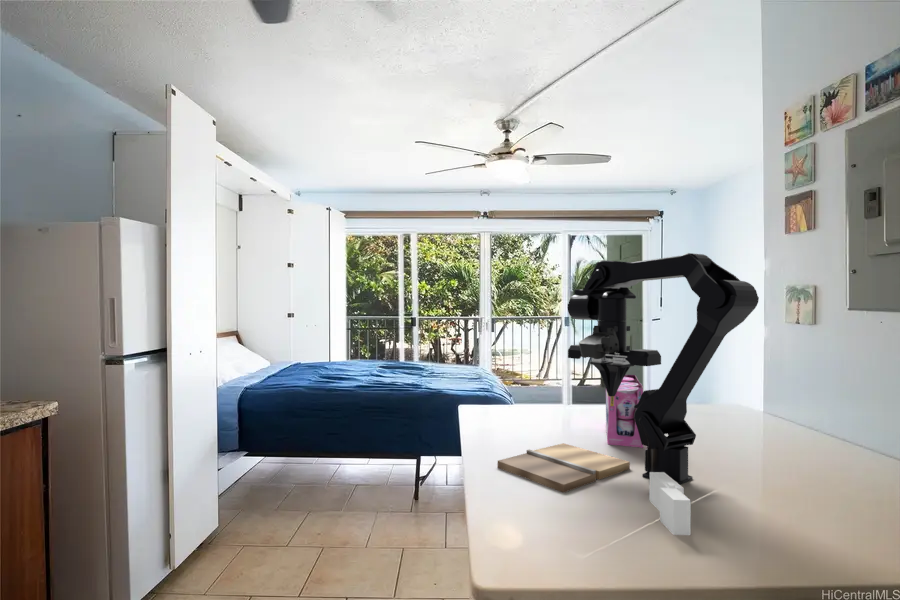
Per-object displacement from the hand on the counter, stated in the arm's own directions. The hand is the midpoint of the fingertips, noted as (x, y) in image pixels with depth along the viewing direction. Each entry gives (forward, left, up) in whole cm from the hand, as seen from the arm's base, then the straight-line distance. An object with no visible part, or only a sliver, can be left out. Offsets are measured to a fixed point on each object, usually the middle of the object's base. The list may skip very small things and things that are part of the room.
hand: (611, 396), depth 102 cm
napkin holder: (-22, +18, -14) cm, 31 cm away
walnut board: (+2, +18, -13) cm, 23 cm away
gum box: (+10, -20, -13) cm, 26 cm away
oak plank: (+2, +8, -13) cm, 15 cm away
